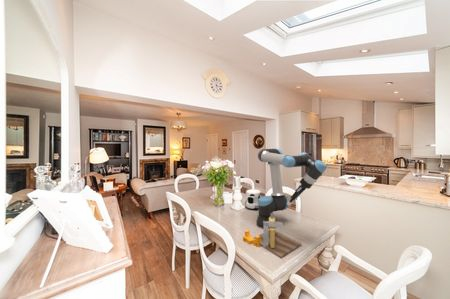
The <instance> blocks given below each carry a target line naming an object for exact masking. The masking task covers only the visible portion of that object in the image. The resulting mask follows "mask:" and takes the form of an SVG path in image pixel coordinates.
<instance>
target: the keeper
mask: <svg viewBox="0 0 450 299" xmlns="http://www.w3.org/2000/svg"><path fill="white" fill-rule="evenodd" d="M283 224H284V223H283V222H282V221H275V222H272V221H263V228H262V229H263V232H262V234H263V244H264V247H263V249H265V247H268V231H269V229H268V226H272V227H275V228H283V226H284V225H283Z"/></svg>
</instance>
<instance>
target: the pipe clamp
mask: <svg viewBox="0 0 450 299" xmlns="http://www.w3.org/2000/svg"><path fill="white" fill-rule="evenodd" d="M255 237H256V238H255V239H253V238H254V237H252V236H251V234H250V230H248V229H245V230H244V235H243V236H242V241H243V242H245V243H246V242H247V243H246V244H249V245H253V246H255V247H257V248H259V247H261V246H260V236H258V235H256V236H255Z"/></svg>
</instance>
